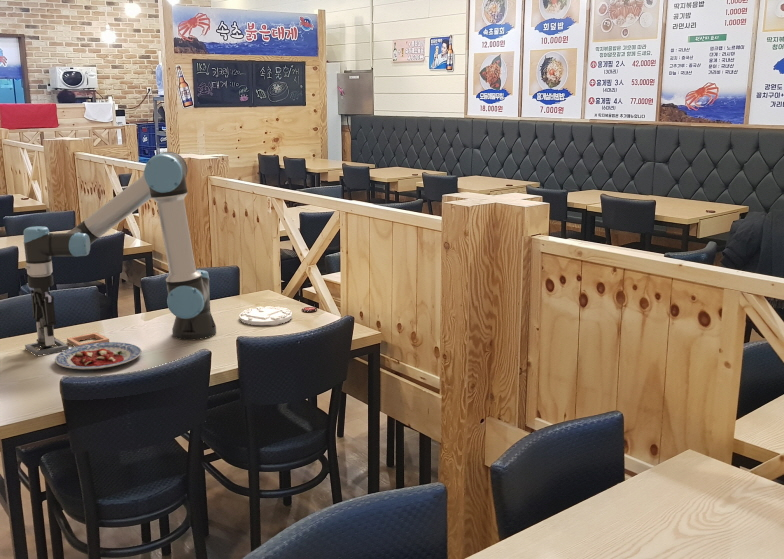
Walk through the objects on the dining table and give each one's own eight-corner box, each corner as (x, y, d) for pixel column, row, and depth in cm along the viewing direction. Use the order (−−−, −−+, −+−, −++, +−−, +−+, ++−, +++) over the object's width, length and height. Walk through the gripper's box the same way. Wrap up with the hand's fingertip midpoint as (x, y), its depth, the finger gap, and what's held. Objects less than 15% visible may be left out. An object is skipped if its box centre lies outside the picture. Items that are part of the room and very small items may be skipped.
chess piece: (49, 352, 249) (46, 317, 247) (33, 351, 251) (29, 316, 248) (60, 347, 255) (57, 312, 252) (44, 346, 256) (41, 311, 253)
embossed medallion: (230, 319, 293) (229, 311, 292) (273, 310, 305) (273, 303, 305) (257, 330, 278) (257, 322, 277) (302, 320, 291) (301, 313, 290)
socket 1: (68, 349, 253) (68, 345, 252) (37, 356, 246) (36, 352, 245) (56, 342, 260) (56, 338, 259) (25, 349, 253) (25, 344, 253)
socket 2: (109, 343, 260) (109, 338, 260) (79, 349, 253) (79, 345, 253) (96, 336, 267) (96, 332, 267) (67, 342, 260) (66, 338, 260)
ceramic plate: (55, 379, 226) (54, 370, 226) (55, 353, 249) (54, 345, 249) (145, 368, 237) (145, 359, 236) (137, 344, 260) (136, 336, 259)
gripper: (17, 271, 251) (24, 338, 256) (39, 281, 238) (45, 351, 243) (40, 268, 256) (47, 334, 261) (63, 277, 243) (69, 346, 248)
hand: (46, 342), depth 252 cm, fingers closed on chess piece, 6 cm apart
